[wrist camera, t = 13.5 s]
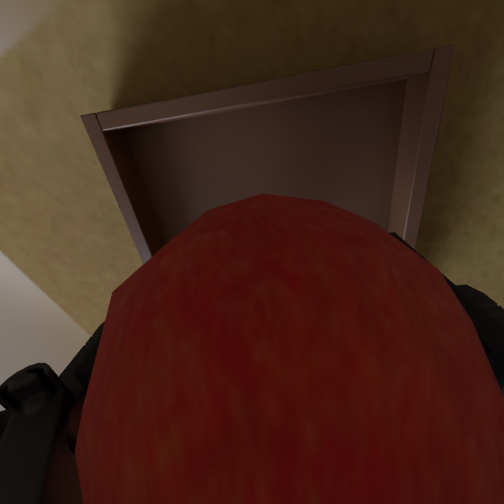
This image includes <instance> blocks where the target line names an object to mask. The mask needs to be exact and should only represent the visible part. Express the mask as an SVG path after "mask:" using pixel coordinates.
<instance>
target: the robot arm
mask: <svg viewBox="0 0 504 504" xmlns="http://www.w3.org/2000/svg"><path fill="white" fill-rule="evenodd" d="M390 234H391V235H392V236H394V237H395V238H396V239H398V240H399V241H400V242H402V243H403V244H404V245H406V246H407V247H409V248H410V249H411V250H413V251H414V252H415V253H417V254H418V255H419V256H421V255H420V254H419V253H418V252H417V251H416V250H415V249H413V248H412V247H411V246H410V245H409V244H408V243H407V242H405V241H404V240H403V239H402V238H401V237H400V236H398V235H397V234H396V233H395V232H391V233H390ZM421 257H422V258H423V259H425V258H424V257H423V256H421ZM425 260H426V259H425ZM426 261H427V260H426ZM427 262H428V261H427ZM430 264H431V263H430ZM441 274H442V273H441ZM442 275H443V274H442ZM443 277H444V279H445V280H446V282H447V283H448V285H449V286H450V288H451V289H452V291H453V292H454V294H455V296H456V297H457V299H458V300H459V302H460V303H461V305H462V306H463V308H464V309H465V311H466V313H467V314H468V316H469V317H470V319H471V320H472V322H473V324H474V327H475V329H476V332H477V334H478V336H479V339H480V341H481V344H482V346H483V349H484V351H485V353H486V356H487V358H488V361H489V363H490V365H491V368H492V370H493V373H494V375H495V377H496V380H497V382H498V385H499V387H500V390H501V392H502V394H503V397H504V309H503V308H502V307H501V306H497V303H496V302H494V301H493V300H492V299H490V298H489V297H488V296H487V295H485V294H484V293H482V292H480V291H478V290H476V289H474V288H472V287H470V286H468V285H455V284H453V283H452V282H451V281H450V280H449V279H448V278H447V277H445V276H444V275H443ZM104 323H105V321H104V322H103V323H102V324H101V325H100V326H99V327H98V329H97V330H96V331H95V332H94V334H93V336H92V337H90V339H89V340H88V341H87V342H86V345H85V346H83V347H82V348H81V350H80V351H79V352H78V353H77V355H76V356H75V357H74V358H73V360H72V361H71V362H70V363H69V365H68V366H67V367H66V369H65V370H64V371H63V372H62V373H61V374H60V376H59V377H58V376H57V374H56V373H55V372H54V371H53V370H52V368H51V367H50V366H49V365H48V364H46V363H37V364H33V365H30V366H28V367H26V368H24V369H22V370H20V371H18V372H16V373H15V374H14V375H12V376H11V377H9V378H8V379H7V380H6V381H5V382H4V383H3V384H2V385H1V386H0V404H1V405H2V406H3V407H4V408H5V409H6V410H3V411H0V504H84V503H83V497H82V492H81V486H80V480H79V475H78V469H77V463H76V457H75V447H76V441H77V436H78V431H79V425H80V420H81V415H82V409H83V405H84V401H85V397H86V393H87V389H88V385H89V382H90V378H91V374H92V370H93V366H94V362H95V358H96V354H97V351H98V347H99V343H100V339H101V335H102V331H103V327H104Z"/></svg>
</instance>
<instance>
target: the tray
mask: <svg viewBox="0 0 504 504" xmlns="http://www.w3.org/2000/svg"><path fill="white" fill-rule="evenodd" d="M454 48H455V46H454V45H448V46H443V47H437V48H434V49H427V50H422V51H416V52H411V53H406V54H401V55H395V56H390V57H385V58H380V59H375V60H369V61H364V62H359V63H354V64H348V65H343V66H338V67H333V68H327V69H322V70H317V71H312V72H306V73H301V74H296V75H291V76H285V77H280V78H275V79H270V80H264V81H259V82H254V83H249V84H243V85H238V86H233V87H228V88H223V89H217V90H212V91H207V92H202V93H196V94H191V95H186V96H181V97H175V98H170V99H165V100H160V101H154V102H149V103H144V104H139V105H133V106H128V107H123V108H118V109H112V110H107V111H102V112H97V113H91V114H86V115H81V119H82V121H83V124H84V126H85V128H86V131H87V133H88V135H89V138H90V140H91V142H92V145H93V147H94V149H95V152H96V154H97V156H98V159H99V161H100V163H101V166H102V168H103V170H104V173H105V175H106V177H107V180H108V182H109V184H110V187H111V189H112V191H113V194H114V196H115V198H116V201H117V203H118V205H119V208H120V210H121V212H122V215H123V217H124V219H125V222H126V224H127V227H128V229H129V231H130V234H131V236H132V238H133V241H134V243H135V245H136V248H137V250H138V252H139V255H140V257H141V259H142V262H143V264H144V263H146V262H147V261H148V260H149V259H150V258H151V257H152V256H153V255H155V254H156V253H157V252H158V251H159V250H160V249H161V248H162V247H163V246H165V245H166V244H167V243H168V242H169V241H170V240H171V239H173V238H174V237H175V236H176V235H178V234H179V233H180V232H181V231H182V230H184V229H185V228H186V227H187V226H189V225H190V224H191V223H192V222H194V221H195V220H196V219H197V218H198V217H200V216H201V215H202V214H203V213H205V212H206V211H207V210H210V209H213V208H216V207H219V206H223V205H226V204H229V203H232V202H236V201H239V200H242V199H245V198H249V197H252V196H255V195H259V194H262V193H264V194H272V195H281V196H289V197H297V198H305V199H313V200H322V201H325V202H327V203H330V204H332V205H334V206H337V207H339V208H342V209H344V210H347V211H349V212H352V213H354V214H356V215H359V216H361V217H364V218H366V219H369V220H371V221H373V222H375V223H376V224H377V225H379V226H380V227H381V228H383V229H384V230H386V231H387V232H388V233H391V232H395V233H396V234H397V235H398V236H400V237H401V238H402V239H403V240H404V241H405V242H407V243H408V244H409V245H410V246H411V247H412V248H413V249H415V248H416V243H417V238H418V233H419V227H420V222H421V217H422V212H423V207H424V202H425V197H426V191H427V186H428V181H429V176H430V171H431V166H432V161H433V155H434V150H435V145H436V140H437V135H438V130H439V125H440V119H441V114H442V109H443V104H444V99H445V94H446V89H447V84H448V78H449V73H450V68H451V63H452V58H453V53H454Z"/></svg>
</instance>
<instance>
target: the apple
mask: <svg viewBox="0 0 504 504" xmlns="http://www.w3.org/2000/svg"><path fill="white" fill-rule="evenodd" d="M75 457H76V463H77V469H78V475H79V480H80V486H81V492H82V497H83V503H84V504H504V397H503V394H502V392H501V390H500V387H499V385H498V382H497V380H496V377H495V375H494V373H493V370H492V368H491V365H490V363H489V361H488V358H487V356H486V353H485V351H484V349H483V346H482V344H481V341H480V339H479V336H478V334H477V332H476V329H475V327H474V324H473V322H472V320H471V319H470V317H469V316H468V314H467V313H466V311H465V309H464V308H463V306H462V305H461V303H460V302H459V300H458V299H457V297H456V296H455V294H454V292H453V291H452V289H451V288H450V286H449V285H448V283H447V282H446V280H445V279H444V277H443V275H442V274H441V272H440V271H439V270H438V269H437V268H436V267H434V266H433V265H432V264H430V263H429V262H427V261H426V260H425V259H423V258H422V257H421V256H419V255H418V254H417V253H415V252H414V251H413V250H411V249H410V248H409V247H407V246H406V245H404V244H403V243H402V242H400V241H399V240H398V239H396V238H395V237H394V236H392V235H391V234H390V233H388V232H387V231H386V230H384V229H383V228H381V227H380V226H379V225H377V224H376V223H375V222H373V221H371V220H369V219H366V218H364V217H361V216H359V215H356V214H354V213H352V212H349V211H347V210H344V209H342V208H339V207H337V206H334V205H332V204H330V203H327V202H325V201H322V200H313V199H305V198H297V197H289V196H281V195H272V194H264V193H262V194H259V195H255V196H252V197H249V198H245V199H242V200H239V201H236V202H232V203H229V204H226V205H223V206H219V207H216V208H213V209H210V210H207V211H206V212H205V213H203V214H202V215H201V216H200V217H198V218H197V219H196V220H195V221H194V222H192V223H191V224H190V225H189V226H187V227H186V228H185V229H184V230H182V231H181V232H180V233H179V234H178V235H176V236H175V237H174V238H173V239H171V240H170V241H169V242H168V243H167V244H166V245H165V246H163V247H162V248H161V249H160V250H159V251H158V252H157V253H156V254H155V255H153V256H152V257H151V258H150V259H149V260H148V261H147V262H146V263H144V264H143V265H142V266H141V267H140V268H139V269H138V270H137V271H136V272H134V273H133V274H132V275H131V276H130V277H129V278H128V279H127V280H125V281H124V282H123V283H122V284H121V285H120V286H119V287H118V288H116V289H115V290H114V291H113V293H112V296H111V300H110V304H109V308H108V312H107V316H106V320H105V323H104V327H103V331H102V335H101V339H100V343H99V347H98V351H97V354H96V358H95V362H94V366H93V370H92V374H91V378H90V382H89V385H88V389H87V393H86V397H85V401H84V405H83V409H82V415H81V420H80V425H79V431H78V436H77V441H76V447H75Z"/></svg>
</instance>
